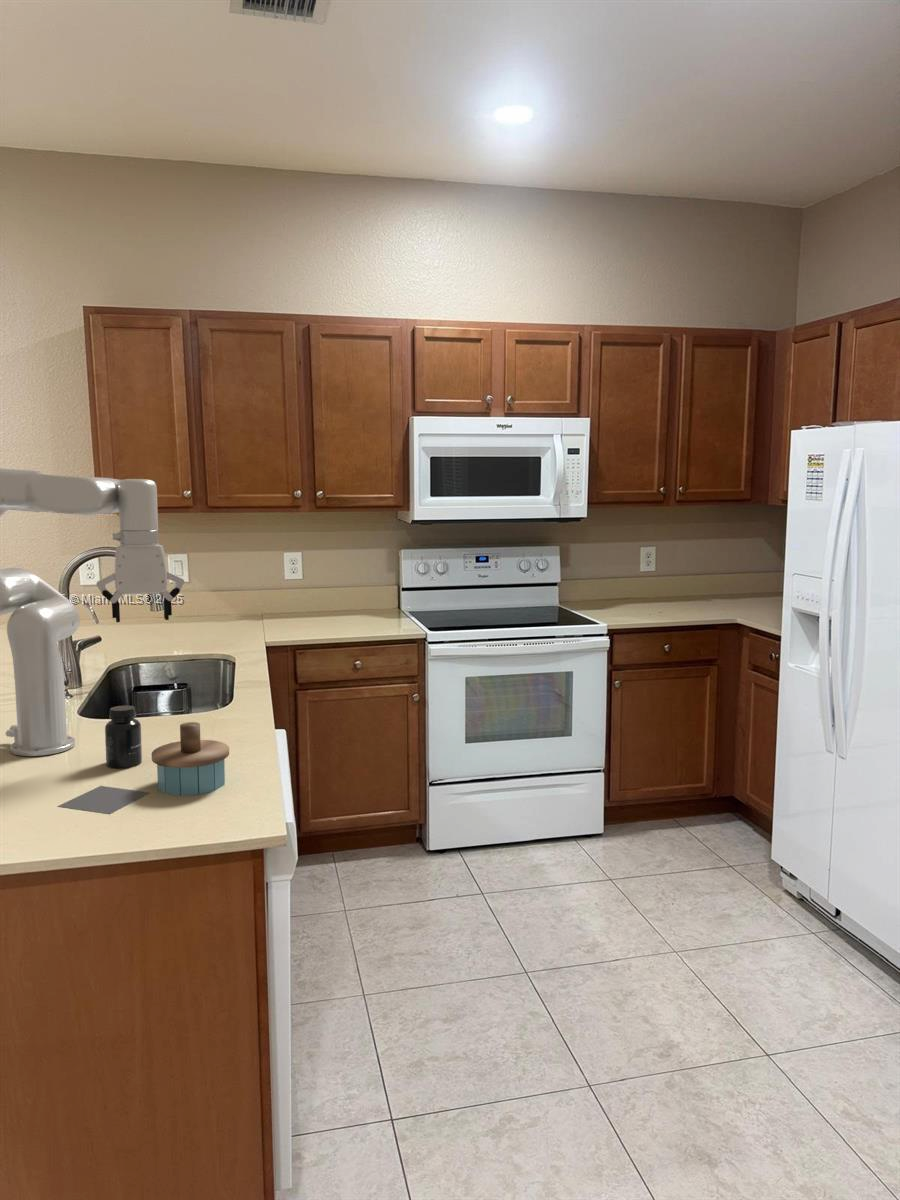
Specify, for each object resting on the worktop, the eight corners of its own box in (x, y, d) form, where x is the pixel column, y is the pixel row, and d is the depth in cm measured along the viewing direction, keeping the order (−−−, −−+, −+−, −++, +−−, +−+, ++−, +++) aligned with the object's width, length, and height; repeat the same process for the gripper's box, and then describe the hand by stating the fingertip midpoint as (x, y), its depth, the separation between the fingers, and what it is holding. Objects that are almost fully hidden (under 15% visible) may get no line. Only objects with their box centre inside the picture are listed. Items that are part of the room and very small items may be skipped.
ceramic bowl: (145, 793, 159) (143, 761, 158) (183, 773, 170) (182, 743, 169) (201, 800, 155) (200, 768, 154) (237, 779, 166) (236, 749, 166)
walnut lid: (135, 763, 157) (134, 731, 156) (181, 741, 170) (180, 712, 170) (201, 771, 153) (200, 738, 152) (243, 748, 166) (242, 718, 165)
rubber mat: (57, 809, 150) (57, 806, 150) (100, 788, 161) (100, 785, 161) (109, 816, 147) (109, 813, 147) (150, 795, 158) (150, 792, 158)
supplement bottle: (141, 769, 172) (139, 711, 170) (104, 772, 170) (102, 713, 168) (143, 759, 178) (141, 702, 177) (108, 761, 176) (105, 704, 175)
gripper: (94, 540, 171) (98, 625, 174) (184, 539, 178) (187, 621, 180) (94, 538, 178) (98, 619, 181) (181, 537, 185) (183, 615, 187)
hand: (142, 620), depth 180 cm, fingers open, 9 cm apart
